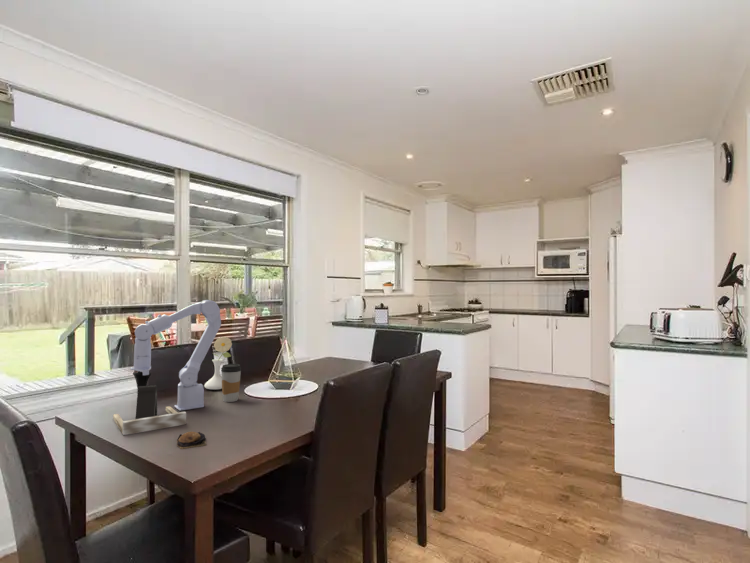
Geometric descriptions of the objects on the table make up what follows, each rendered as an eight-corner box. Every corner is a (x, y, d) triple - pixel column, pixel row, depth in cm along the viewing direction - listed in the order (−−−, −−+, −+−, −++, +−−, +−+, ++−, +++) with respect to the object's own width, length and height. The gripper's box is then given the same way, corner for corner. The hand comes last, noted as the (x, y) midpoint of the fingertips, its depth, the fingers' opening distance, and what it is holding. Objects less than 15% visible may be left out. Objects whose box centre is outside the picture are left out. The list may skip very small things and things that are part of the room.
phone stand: (153, 421, 152) (154, 388, 153) (134, 423, 150) (135, 389, 151) (157, 414, 161) (158, 382, 161) (139, 416, 159) (140, 383, 159)
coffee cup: (244, 399, 184) (245, 364, 185) (228, 403, 177) (229, 367, 178) (232, 396, 189) (232, 362, 189) (216, 400, 182) (216, 365, 182)
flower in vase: (199, 390, 199) (200, 337, 200) (212, 385, 210) (213, 334, 211) (224, 392, 197) (226, 338, 198) (236, 386, 208) (238, 335, 209)
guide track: (170, 410, 167) (170, 399, 167) (185, 424, 150) (186, 412, 150) (113, 418, 155) (113, 407, 155) (123, 435, 138) (123, 422, 138)
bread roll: (208, 447, 130) (208, 435, 130) (177, 451, 126) (178, 439, 126) (203, 436, 140) (203, 425, 140) (174, 440, 136) (175, 428, 136)
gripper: (127, 354, 167) (126, 388, 167) (134, 359, 156) (133, 396, 155) (147, 352, 171) (146, 386, 171) (155, 357, 160) (154, 393, 160)
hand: (141, 391), depth 163 cm, fingers closed
